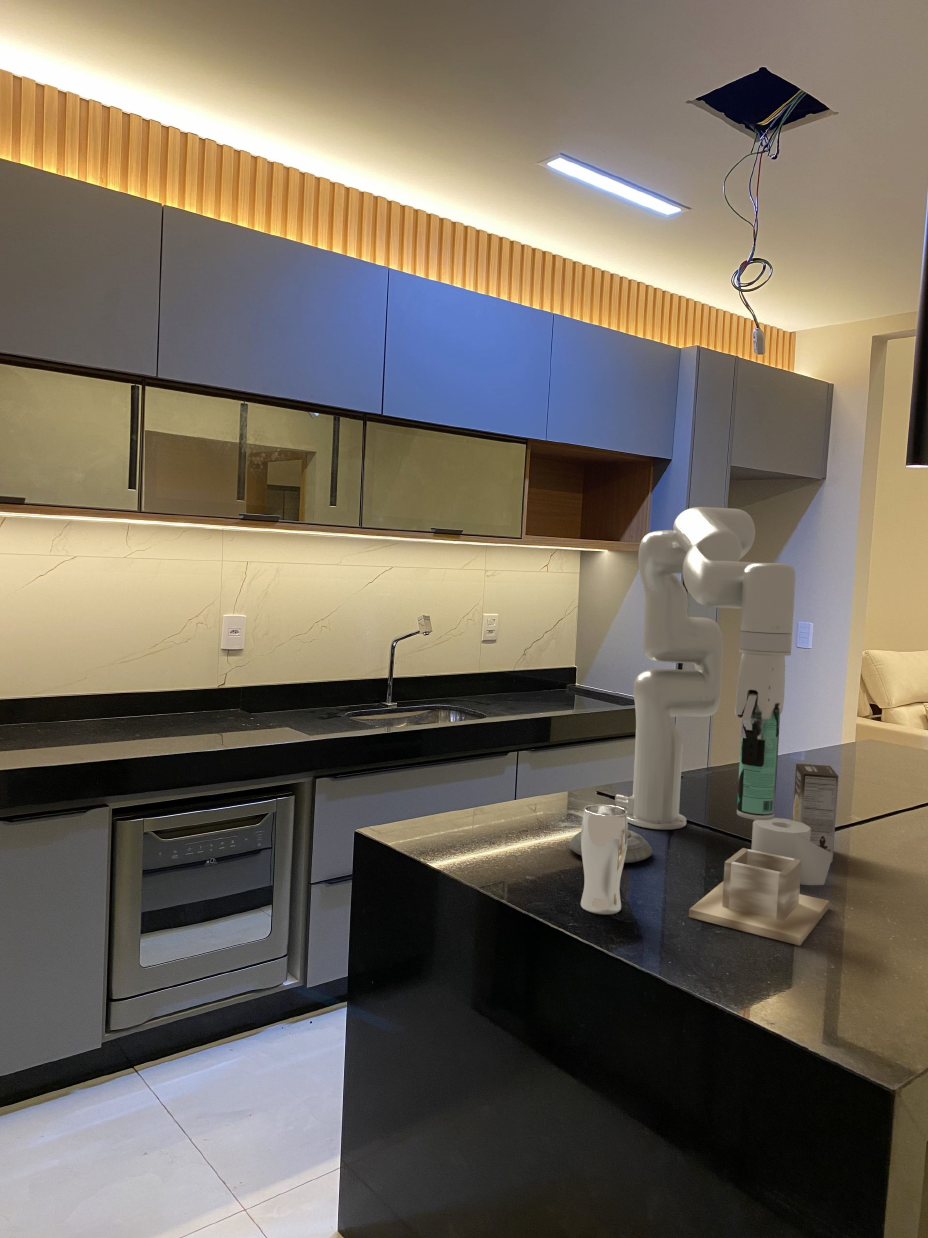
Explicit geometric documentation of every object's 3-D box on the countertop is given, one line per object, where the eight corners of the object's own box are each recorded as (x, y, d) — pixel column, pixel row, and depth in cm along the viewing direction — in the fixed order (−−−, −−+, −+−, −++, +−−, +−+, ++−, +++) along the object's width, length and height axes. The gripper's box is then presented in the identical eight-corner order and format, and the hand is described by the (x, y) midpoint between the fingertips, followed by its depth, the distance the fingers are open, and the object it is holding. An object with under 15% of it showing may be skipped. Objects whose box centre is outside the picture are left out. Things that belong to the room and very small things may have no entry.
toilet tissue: (835, 888, 149) (839, 837, 149) (752, 879, 152) (755, 829, 152) (826, 871, 158) (829, 823, 158) (747, 862, 161) (750, 815, 161)
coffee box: (789, 844, 173) (794, 762, 172) (824, 848, 172) (830, 765, 171) (797, 859, 164) (803, 772, 163) (834, 863, 163) (840, 775, 162)
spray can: (778, 815, 139) (785, 686, 138) (768, 822, 134) (776, 689, 133) (742, 808, 142) (749, 682, 141) (732, 816, 137) (739, 685, 136)
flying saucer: (667, 856, 164) (668, 826, 163) (625, 875, 152) (626, 844, 152) (597, 837, 173) (598, 809, 173) (552, 854, 162) (553, 824, 162)
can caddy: (688, 917, 134) (691, 864, 133) (727, 884, 149) (729, 837, 148) (799, 945, 125) (803, 889, 125) (828, 908, 140) (832, 858, 139)
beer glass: (613, 919, 132) (618, 818, 131) (570, 908, 135) (574, 810, 134) (630, 905, 138) (635, 809, 137) (589, 895, 141) (593, 801, 140)
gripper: (757, 640, 146) (750, 751, 147) (722, 644, 132) (715, 767, 133) (805, 643, 142) (798, 757, 142) (774, 648, 127) (767, 775, 128)
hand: (758, 761), depth 137 cm, fingers closed on spray can, 5 cm apart
